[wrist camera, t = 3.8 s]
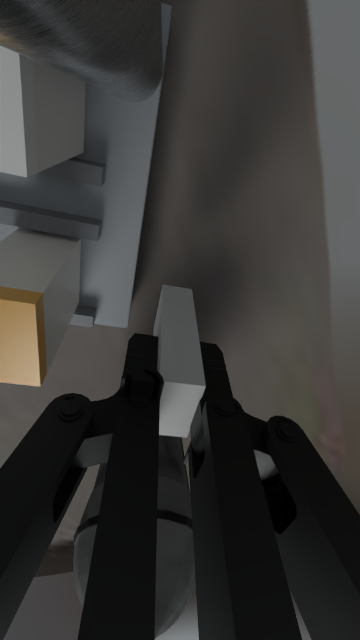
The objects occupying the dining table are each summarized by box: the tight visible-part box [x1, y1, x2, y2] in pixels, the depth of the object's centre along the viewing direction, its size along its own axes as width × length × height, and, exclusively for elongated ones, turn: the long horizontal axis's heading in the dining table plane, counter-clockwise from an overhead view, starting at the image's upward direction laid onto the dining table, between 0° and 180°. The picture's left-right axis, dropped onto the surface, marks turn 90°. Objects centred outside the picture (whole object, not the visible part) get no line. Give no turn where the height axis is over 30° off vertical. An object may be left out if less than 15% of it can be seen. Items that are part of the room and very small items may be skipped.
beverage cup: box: [73, 435, 196, 638], centre depth 18 cm, size 7×7×20 cm
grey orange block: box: [0, 227, 81, 387], centre depth 14 cm, size 3×4×7 cm
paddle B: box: [0, 46, 86, 177], centre depth 9 cm, size 3×4×7 cm
